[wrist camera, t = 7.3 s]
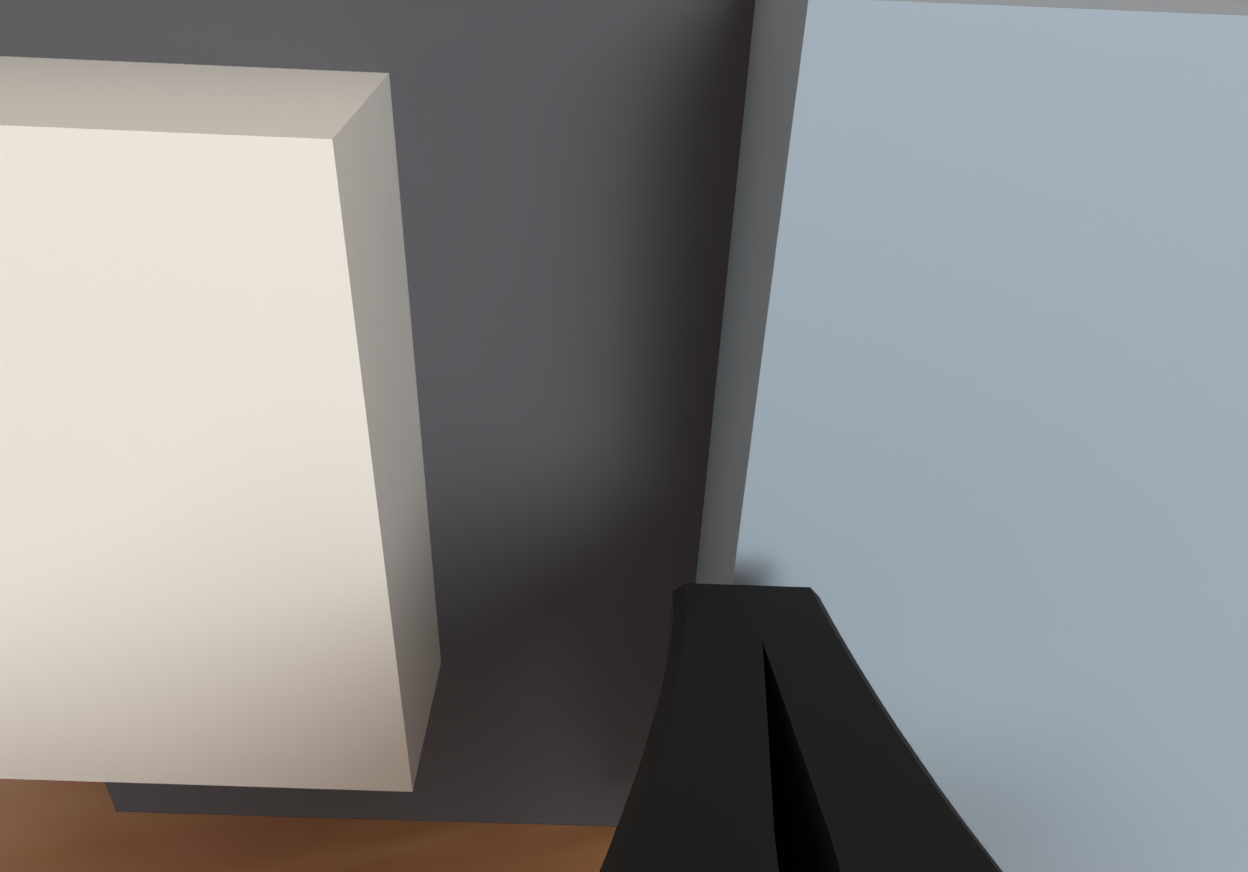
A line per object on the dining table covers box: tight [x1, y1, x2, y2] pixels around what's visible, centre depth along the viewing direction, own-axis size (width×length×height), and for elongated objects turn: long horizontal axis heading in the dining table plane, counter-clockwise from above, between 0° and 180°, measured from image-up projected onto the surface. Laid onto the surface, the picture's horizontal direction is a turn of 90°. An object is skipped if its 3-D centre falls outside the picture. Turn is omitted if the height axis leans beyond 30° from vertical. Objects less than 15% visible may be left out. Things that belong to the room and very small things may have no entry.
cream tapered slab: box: [0, 56, 441, 792], centre depth 12 cm, size 9×6×2 cm, turn 178°
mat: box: [0, 0, 755, 827], centre depth 14 cm, size 15×10×1 cm, turn 178°
